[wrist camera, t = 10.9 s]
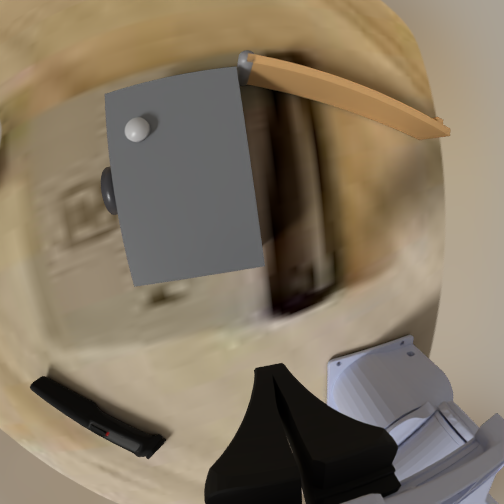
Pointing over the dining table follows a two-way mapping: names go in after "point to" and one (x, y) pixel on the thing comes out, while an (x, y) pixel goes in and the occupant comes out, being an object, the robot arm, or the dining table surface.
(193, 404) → the dining table surface
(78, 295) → the dining table surface
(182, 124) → the camera body
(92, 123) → the dining table surface
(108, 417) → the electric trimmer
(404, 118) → the side door
